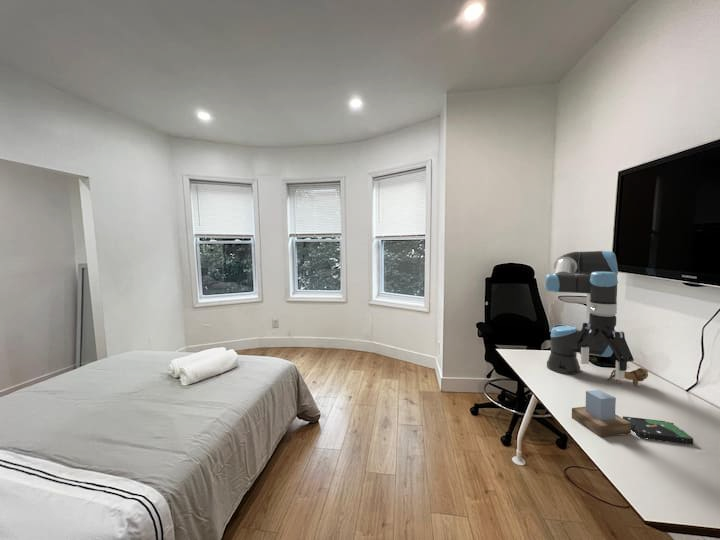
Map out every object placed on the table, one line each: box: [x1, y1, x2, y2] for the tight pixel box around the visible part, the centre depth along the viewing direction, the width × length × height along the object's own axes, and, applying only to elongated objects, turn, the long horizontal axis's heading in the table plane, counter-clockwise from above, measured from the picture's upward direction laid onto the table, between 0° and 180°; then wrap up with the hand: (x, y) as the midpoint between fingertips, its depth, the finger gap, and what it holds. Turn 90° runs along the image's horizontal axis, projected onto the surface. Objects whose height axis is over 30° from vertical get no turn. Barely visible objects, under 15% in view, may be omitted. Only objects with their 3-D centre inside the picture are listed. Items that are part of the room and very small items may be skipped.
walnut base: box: [571, 406, 632, 438], centre depth 107 cm, size 12×12×4 cm
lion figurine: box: [606, 367, 649, 388], centre depth 138 cm, size 15×5×9 cm, turn 59°
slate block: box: [585, 389, 617, 421], centre depth 107 cm, size 6×6×8 cm
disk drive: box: [622, 415, 694, 446], centre depth 103 cm, size 10×3×15 cm
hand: (601, 370), depth 106 cm, fingers open, 13 cm apart
